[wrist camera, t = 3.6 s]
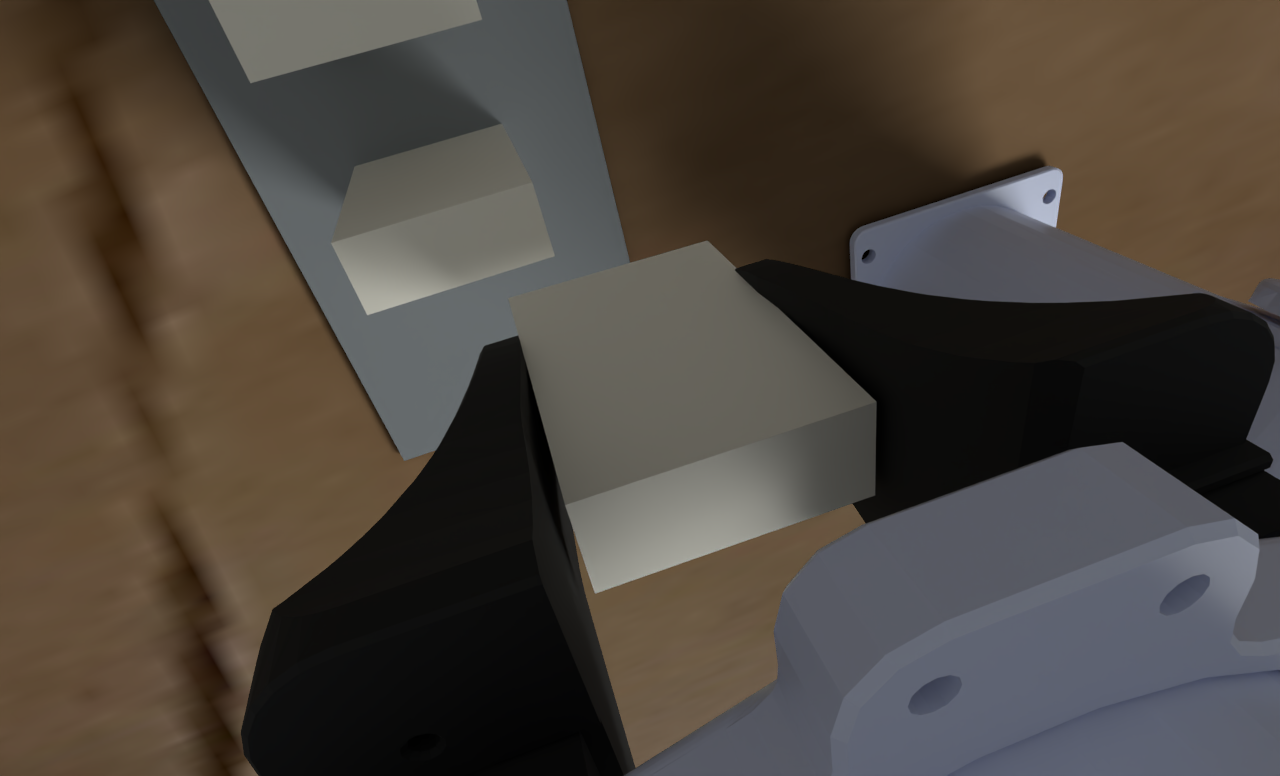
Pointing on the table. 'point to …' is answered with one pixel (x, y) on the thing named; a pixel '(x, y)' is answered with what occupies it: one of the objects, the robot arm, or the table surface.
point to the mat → (398, 122)
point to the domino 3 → (687, 412)
